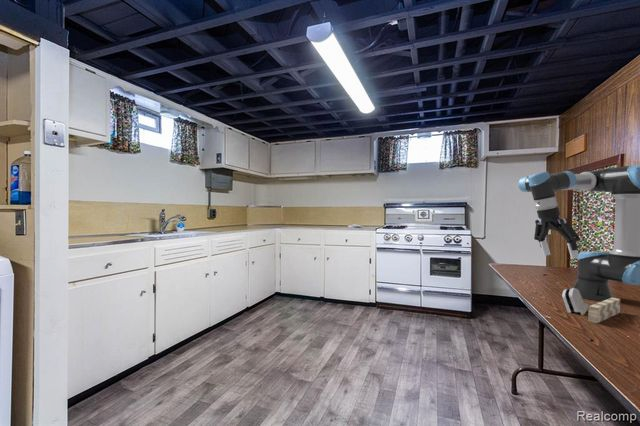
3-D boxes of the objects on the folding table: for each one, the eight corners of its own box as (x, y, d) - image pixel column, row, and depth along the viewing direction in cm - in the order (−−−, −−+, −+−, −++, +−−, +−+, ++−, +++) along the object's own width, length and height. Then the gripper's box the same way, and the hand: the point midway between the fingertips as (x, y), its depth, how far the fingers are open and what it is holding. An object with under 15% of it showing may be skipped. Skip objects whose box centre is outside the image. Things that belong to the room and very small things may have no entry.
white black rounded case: (583, 315, 124) (573, 291, 126) (569, 316, 127) (559, 292, 129) (589, 307, 135) (580, 285, 137) (576, 308, 138) (567, 286, 140)
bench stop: (611, 311, 130) (612, 297, 130) (619, 312, 128) (620, 298, 128) (588, 321, 117) (588, 306, 117) (596, 323, 115) (597, 308, 115)
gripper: (517, 211, 140) (529, 256, 139) (564, 207, 115) (579, 261, 114) (532, 208, 140) (544, 252, 139) (582, 203, 115) (597, 257, 114)
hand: (560, 256), depth 127 cm, fingers open, 13 cm apart
